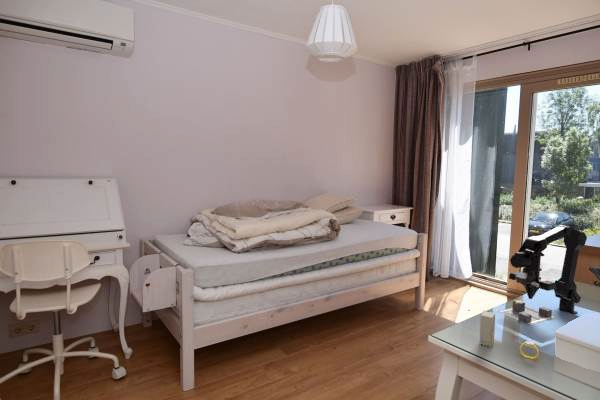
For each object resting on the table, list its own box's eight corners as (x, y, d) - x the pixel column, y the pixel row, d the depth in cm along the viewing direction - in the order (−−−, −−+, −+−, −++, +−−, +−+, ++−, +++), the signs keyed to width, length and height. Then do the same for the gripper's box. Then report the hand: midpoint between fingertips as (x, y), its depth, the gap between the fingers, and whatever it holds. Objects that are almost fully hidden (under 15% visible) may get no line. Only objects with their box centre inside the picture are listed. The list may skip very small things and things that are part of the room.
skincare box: (491, 348, 144) (492, 318, 142) (478, 344, 146) (480, 315, 145) (494, 341, 149) (495, 312, 147) (482, 338, 151) (483, 310, 150)
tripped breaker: (516, 308, 178) (517, 299, 177) (524, 311, 174) (525, 302, 173) (512, 309, 176) (512, 300, 176) (520, 312, 173) (520, 303, 172)
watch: (519, 357, 137) (518, 342, 137) (520, 354, 139) (520, 339, 139) (538, 361, 134) (538, 345, 133) (539, 358, 136) (538, 342, 135)
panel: (523, 307, 182) (523, 299, 182) (556, 320, 168) (557, 311, 167) (497, 313, 175) (498, 305, 175) (530, 327, 161) (530, 318, 160)
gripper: (501, 262, 173) (499, 294, 174) (541, 273, 156) (538, 309, 157) (517, 260, 177) (515, 291, 179) (558, 270, 160) (555, 305, 162)
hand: (530, 298), depth 169 cm, fingers closed
